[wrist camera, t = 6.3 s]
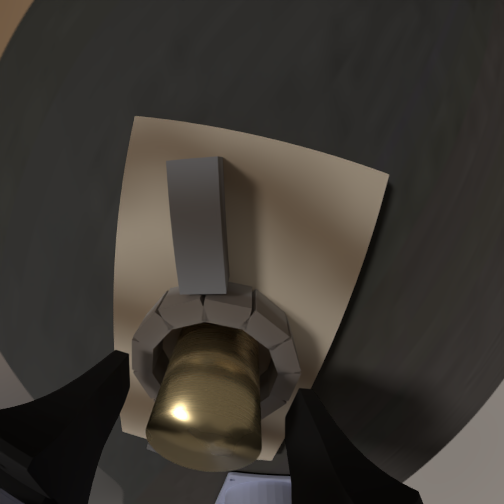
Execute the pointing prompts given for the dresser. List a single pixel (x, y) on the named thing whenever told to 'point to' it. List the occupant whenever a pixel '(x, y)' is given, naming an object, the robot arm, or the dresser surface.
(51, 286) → the dresser surface
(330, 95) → the dresser surface
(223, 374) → the cylinder
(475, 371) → the dresser surface
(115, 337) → the coupling plate
